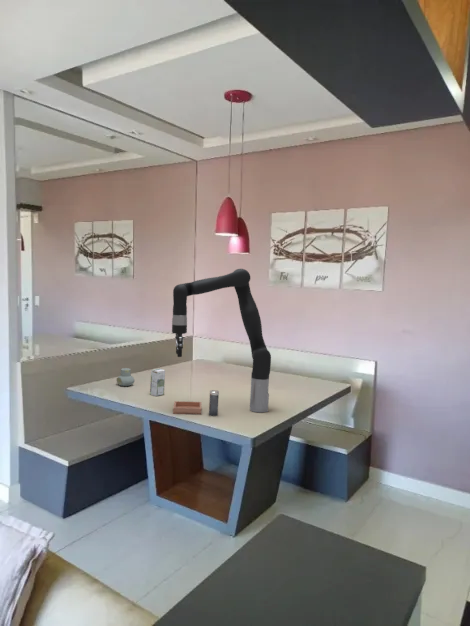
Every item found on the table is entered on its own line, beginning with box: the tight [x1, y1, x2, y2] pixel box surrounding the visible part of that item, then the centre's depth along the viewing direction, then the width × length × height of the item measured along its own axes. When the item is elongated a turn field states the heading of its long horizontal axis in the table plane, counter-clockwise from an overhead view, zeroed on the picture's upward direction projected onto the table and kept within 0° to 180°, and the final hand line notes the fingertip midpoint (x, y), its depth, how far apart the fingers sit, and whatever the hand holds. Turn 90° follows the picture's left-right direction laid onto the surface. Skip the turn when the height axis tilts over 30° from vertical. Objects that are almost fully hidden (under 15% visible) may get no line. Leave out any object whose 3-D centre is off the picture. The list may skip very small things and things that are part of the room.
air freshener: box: [116, 367, 135, 387], centre depth 284 cm, size 11×8×10 cm
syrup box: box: [149, 368, 166, 397], centre depth 265 cm, size 6×6×14 cm
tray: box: [172, 400, 203, 415], centre depth 238 cm, size 14×12×3 cm
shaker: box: [208, 389, 220, 417], centre depth 233 cm, size 5×5×12 cm
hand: (178, 355), depth 238 cm, fingers open, 8 cm apart
